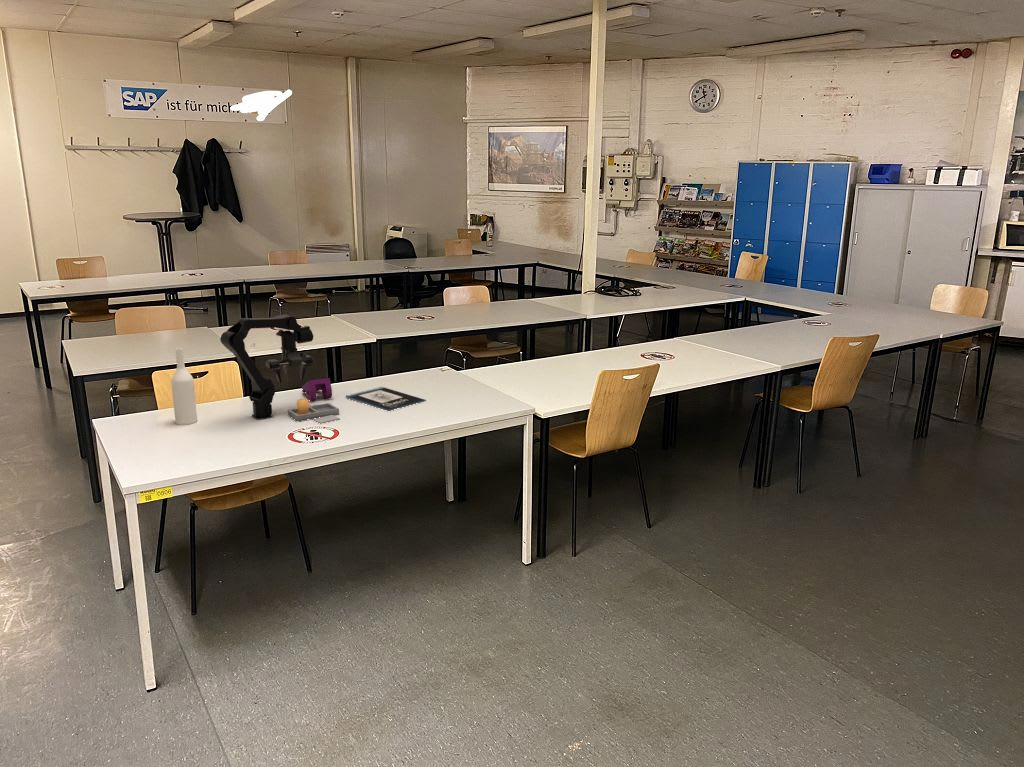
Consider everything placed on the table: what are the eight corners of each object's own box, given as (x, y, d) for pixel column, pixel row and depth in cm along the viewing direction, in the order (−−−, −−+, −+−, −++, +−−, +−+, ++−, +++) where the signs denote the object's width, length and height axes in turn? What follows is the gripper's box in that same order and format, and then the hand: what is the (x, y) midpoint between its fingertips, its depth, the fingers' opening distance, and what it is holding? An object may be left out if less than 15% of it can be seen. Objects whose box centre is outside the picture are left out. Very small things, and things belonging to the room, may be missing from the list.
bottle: (199, 418, 308) (192, 345, 301) (194, 424, 301) (187, 350, 293) (178, 419, 307) (170, 346, 299) (173, 425, 299) (165, 350, 292)
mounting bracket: (302, 407, 346) (311, 399, 330) (299, 389, 347) (308, 380, 331) (323, 404, 350) (333, 396, 335) (320, 386, 351) (329, 378, 336)
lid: (320, 425, 304) (320, 422, 303) (312, 422, 308) (312, 419, 307) (340, 420, 310) (339, 418, 309) (332, 417, 314) (331, 414, 314)
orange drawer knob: (299, 417, 308) (298, 402, 307) (295, 414, 312) (294, 399, 311) (312, 414, 311) (311, 400, 310) (307, 411, 315) (306, 398, 314)
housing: (297, 421, 306) (296, 416, 305) (288, 415, 313) (287, 409, 313) (339, 414, 316) (338, 408, 315) (329, 408, 324) (328, 402, 323)
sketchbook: (388, 413, 321) (388, 408, 320) (344, 399, 340) (344, 395, 339) (426, 402, 337) (426, 397, 336) (381, 389, 356) (381, 385, 355)
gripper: (273, 351, 303) (275, 389, 307) (318, 346, 314) (319, 382, 318) (263, 346, 312) (266, 383, 316) (307, 341, 323) (309, 377, 327)
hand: (291, 381), depth 319 cm, fingers open, 9 cm apart
